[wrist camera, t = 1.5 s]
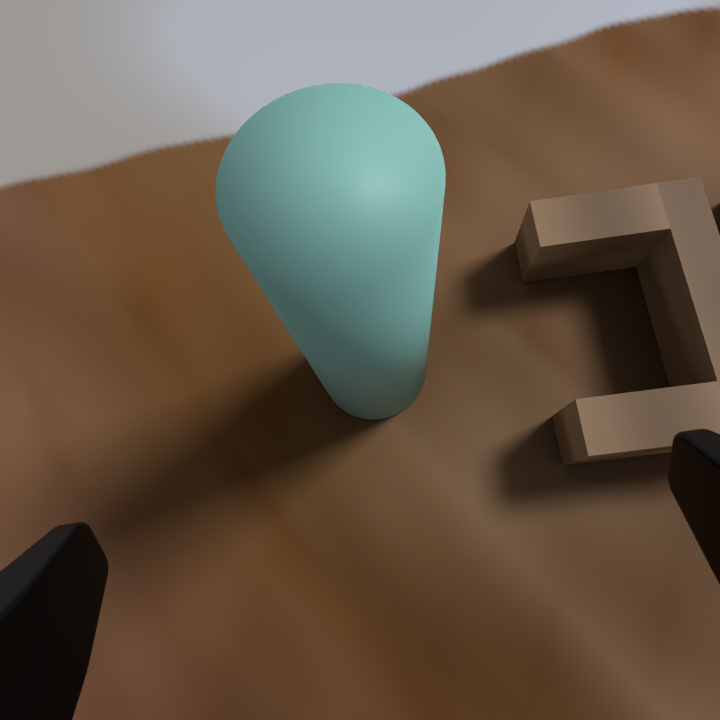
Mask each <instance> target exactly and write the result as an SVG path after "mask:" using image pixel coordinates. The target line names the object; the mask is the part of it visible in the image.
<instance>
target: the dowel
mask: <svg viewBox="0 0 720 720" xmlns="http://www.w3.org/2000/svg"><path fill="white" fill-rule="evenodd" d="M444 193H445V165H444V158H443V155H442V151H441V148H440V145H439V143H438V141H437V139H436V137H435V135H434V133H433V132H432V130H431V129H430V127H429V126H428V124H427V123H426V122H425V121H424V119H423V118H422V117H421V116H420V115H419V114H418V113H417V112H416V111H415V110H413V109H412V108H411V107H410V106H409V105H407V104H406V103H404V102H402V101H401V100H399V99H398V98H396V97H394V96H392V95H390V94H388V93H385V92H382V91H380V90H377V89H374V88H371V87H365V86H361V85H354V84H324V85H317V86H312V87H308V88H303V89H300V90H297V91H294V92H291V93H289V94H286V95H284V96H282V97H280V98H278V99H276V100H274V101H272V102H271V103H269V104H268V105H266V106H264V107H263V108H261V109H260V110H259V111H258V112H256V113H255V114H254V115H253V116H252V117H250V118H249V120H248V121H246V122H245V123H244V125H242V127H241V128H240V129H239V130H238V132H237V133H236V134H235V135H234V137H233V138H232V140H231V142H230V143H229V145H228V147H227V148H226V151H225V153H224V155H223V157H222V160H221V163H220V166H219V170H218V173H217V180H216V204H217V210H218V214H219V217H220V221H221V224H222V226H223V228H224V230H225V232H226V234H227V236H228V238H229V239H230V241H231V242H232V244H233V246H234V247H235V249H236V250H237V252H238V253H239V255H240V257H241V258H242V260H243V261H244V263H245V264H246V266H247V267H248V269H249V271H250V272H251V274H252V275H253V277H254V278H255V280H256V282H257V283H258V285H259V286H260V288H261V289H262V291H263V292H264V294H265V296H266V297H267V299H268V300H269V302H270V303H271V305H272V306H273V308H274V310H275V311H276V313H277V314H278V316H279V317H280V319H281V321H282V322H283V324H284V325H285V327H286V328H287V330H288V331H289V333H290V335H291V336H292V338H293V339H294V341H295V342H296V344H297V345H298V347H299V349H300V350H301V352H302V353H303V355H304V356H305V358H306V360H307V361H308V363H309V364H310V366H311V367H312V369H313V370H314V372H315V374H316V375H317V377H318V378H319V380H320V381H321V383H322V384H323V386H324V388H325V389H326V391H327V392H328V394H329V395H330V397H331V398H332V400H333V401H334V402H335V403H336V404H337V405H338V406H339V407H340V408H341V409H342V410H344V411H345V412H347V413H348V414H351V415H353V416H355V417H358V418H362V419H368V420H377V419H384V418H389V417H391V416H394V415H396V414H398V413H400V412H402V411H403V410H405V409H406V408H407V407H408V406H409V405H410V404H412V402H413V401H414V400H415V399H416V397H417V396H418V394H419V393H420V391H421V388H422V386H423V383H424V379H425V372H426V363H427V353H428V344H429V334H430V325H431V316H432V306H433V297H434V287H435V278H436V268H437V259H438V249H439V240H440V231H441V221H442V212H443V202H444Z"/></svg>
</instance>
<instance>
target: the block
mask: <svg viewBox="0 0 720 720" xmlns="http://www.w3.org/2000/svg"><path fill="white" fill-rule="evenodd" d="M515 246H516V251H517V255H518V260H519V265H520V269H521V274H522V279H523V283H524V282H532V281H539V280H546V279H553V278H561V277H568V276H575V275H582V274H589V273H597V272H604V271H611V270H618V269H626V268H633V267H636V269H637V272H638V276H639V279H640V283H641V286H642V290H643V294H644V297H645V301H646V304H647V308H648V311H649V315H650V318H651V322H652V326H653V329H654V333H655V336H656V340H657V343H658V347H659V350H660V354H661V357H662V361H663V365H664V368H665V372H666V375H667V379H668V382H669V386H670V387H667V388H660V389H652V390H644V391H636V392H628V393H620V394H612V395H605V396H597V397H589V398H581V399H575V400H574V401H572V402H571V403H570V404H568V405H567V406H565V407H564V408H563V409H561V410H560V411H559V412H557V413H556V414H555V415H553V416H552V418H553V423H554V427H555V432H556V436H557V441H558V446H559V450H560V455H561V460H562V464H563V465H570V464H578V463H587V462H595V461H603V460H611V459H619V458H628V457H636V456H644V455H652V454H661V453H669V452H671V449H672V442H673V438H674V436H675V435H676V434H677V433H679V432H682V431H689V430H695V429H708V430H711V431H713V432H716V433H718V434H720V234H719V231H718V228H717V225H716V222H715V219H714V216H713V213H712V210H711V207H710V204H709V201H708V198H707V195H706V192H705V189H704V186H703V183H702V180H701V177H694V178H688V179H681V180H674V181H667V182H660V183H653V184H646V185H640V186H633V187H626V188H619V189H612V190H605V191H598V192H591V193H585V194H578V195H571V196H564V197H557V198H550V199H543V200H536V201H530V203H529V205H528V208H527V211H526V213H525V216H524V219H523V221H522V224H521V227H520V229H519V232H518V235H517V237H516V240H515Z"/></svg>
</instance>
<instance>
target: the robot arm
mask: <svg viewBox="0 0 720 720" xmlns="http://www.w3.org/2000/svg"><path fill="white" fill-rule="evenodd" d="M668 481H669V486H670V488H671V491H672V493H673V495H674V497H675V499H676V501H677V503H678V505H679V507H680V509H681V511H682V513H683V515H684V517H685V518H686V520H687V522H688V524H689V526H690V528H691V530H692V532H693V534H694V536H695V538H696V540H697V542H698V544H699V546H700V548H701V550H702V552H703V554H704V556H705V558H706V559H707V561H708V563H709V565H710V567H711V569H712V571H713V573H714V575H715V576H716V578H717V580H718V582H719V584H720V434H718V433H716V432H713V431H711V430H708V429H695V430H689V431H682V432H679V433H677V434H676V435H675V436H674V438H673V442H672V449H671V456H670V463H669V470H668ZM107 576H108V561H107V558H106V555H105V554H104V552H103V550H102V548H101V546H100V544H99V543H98V541H97V539H96V537H95V535H94V533H93V532H92V530H91V528H90V527H89V525H87V524H86V523H83V522H77V523H71V524H64V525H60V526H57V527H55V528H54V529H52V530H51V531H50V532H49V533H47V534H46V535H45V536H44V537H42V538H41V539H40V540H39V541H38V542H36V543H35V544H34V545H33V546H31V547H30V548H29V549H28V550H26V551H25V552H24V553H23V554H21V555H20V556H19V557H18V558H17V559H15V560H14V561H13V562H12V563H10V564H9V565H8V566H7V567H5V568H4V569H3V570H2V571H0V720H72V718H73V715H74V712H75V709H76V705H77V702H78V699H79V696H80V693H81V690H82V686H83V683H84V679H85V676H86V673H87V669H88V665H89V661H90V656H91V652H92V647H93V643H94V638H95V633H96V628H97V623H98V619H99V614H100V609H101V604H102V600H103V595H104V590H105V585H106V581H107Z"/></svg>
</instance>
